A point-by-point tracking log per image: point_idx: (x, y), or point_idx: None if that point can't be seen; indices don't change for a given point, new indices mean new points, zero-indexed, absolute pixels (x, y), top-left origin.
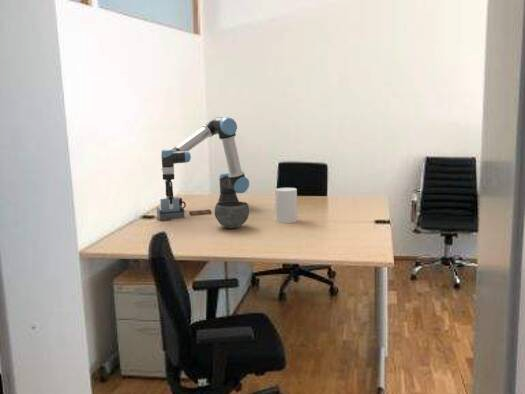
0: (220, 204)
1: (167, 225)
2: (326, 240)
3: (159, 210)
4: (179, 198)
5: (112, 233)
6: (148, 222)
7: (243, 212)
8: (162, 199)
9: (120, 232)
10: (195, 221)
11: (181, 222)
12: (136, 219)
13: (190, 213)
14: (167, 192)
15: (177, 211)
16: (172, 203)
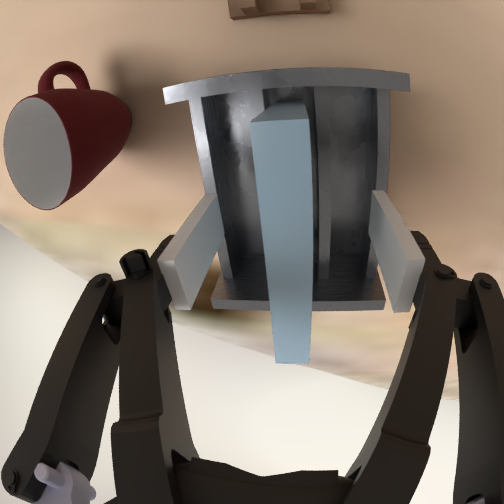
0: None
1: (493, 233)
2: None
3: (383, 308)
4: (12, 126)
5: (446, 391)
6: (366, 311)
7: None
8: (309, 351)
9: (454, 379)
10: (480, 41)
11: (476, 135)
12: (260, 344)
13: (302, 5)
14: (173, 353)
15: (329, 128)
16: (422, 234)
